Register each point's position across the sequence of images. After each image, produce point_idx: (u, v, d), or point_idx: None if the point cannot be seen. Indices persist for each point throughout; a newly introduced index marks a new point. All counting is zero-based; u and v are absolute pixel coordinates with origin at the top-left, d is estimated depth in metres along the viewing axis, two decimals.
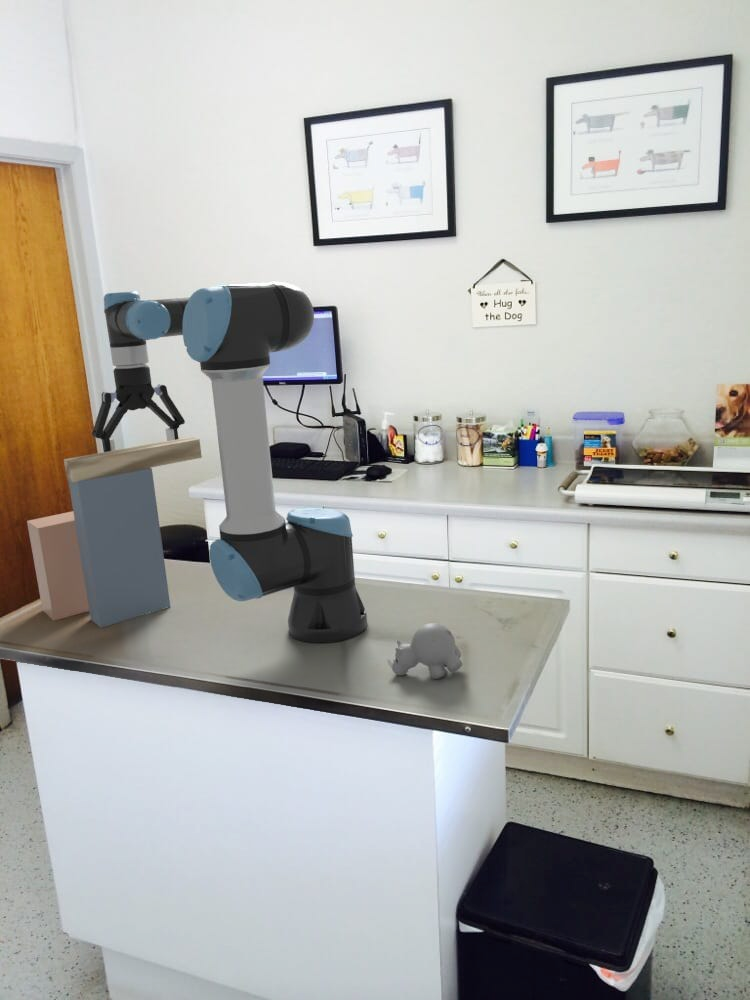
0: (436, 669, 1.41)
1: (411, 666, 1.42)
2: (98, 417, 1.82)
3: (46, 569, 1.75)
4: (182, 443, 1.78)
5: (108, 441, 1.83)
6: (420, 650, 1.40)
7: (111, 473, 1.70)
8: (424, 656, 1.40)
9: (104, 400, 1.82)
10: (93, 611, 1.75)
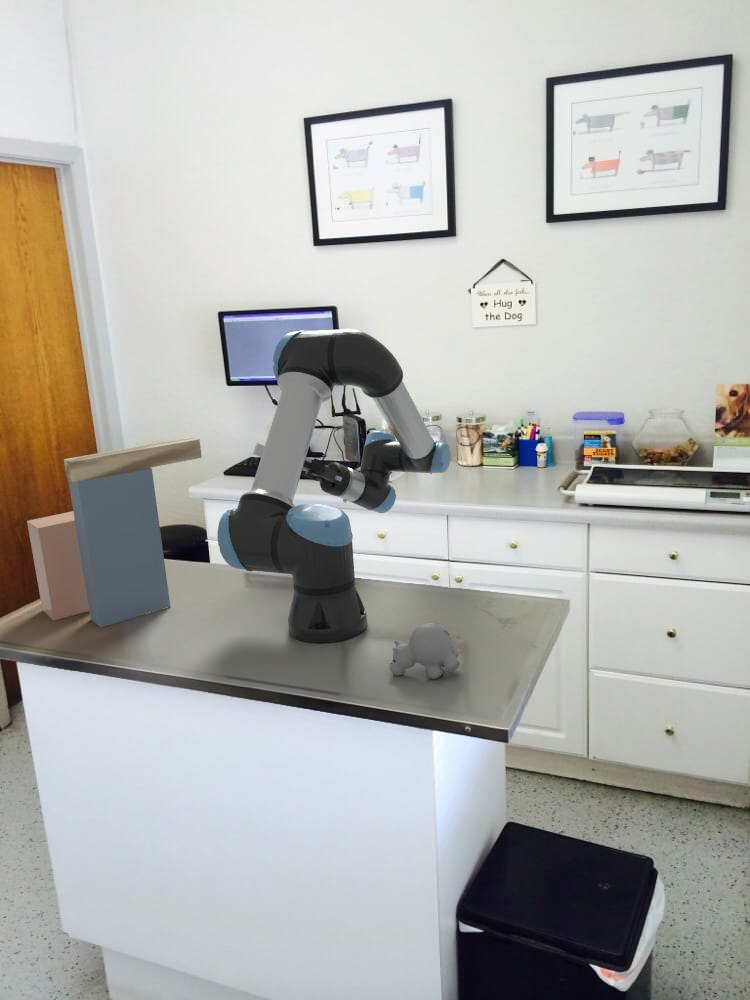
0: (434, 669, 1.41)
1: (408, 666, 1.42)
2: None
3: (46, 569, 1.75)
4: (182, 443, 1.78)
5: None
6: (418, 650, 1.40)
7: (111, 473, 1.70)
8: (422, 656, 1.40)
9: None
10: (93, 611, 1.75)
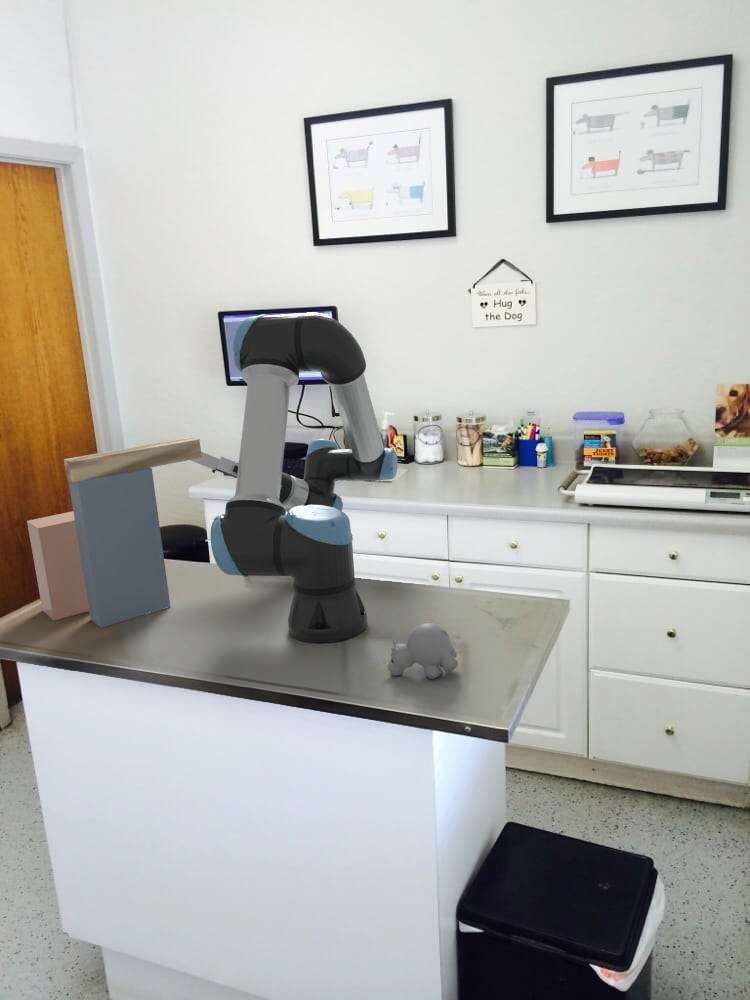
0: (432, 669, 1.41)
1: (407, 666, 1.42)
2: None
3: (46, 569, 1.75)
4: (182, 443, 1.78)
5: None
6: (416, 650, 1.40)
7: (111, 473, 1.70)
8: (420, 656, 1.40)
9: None
10: (93, 611, 1.75)
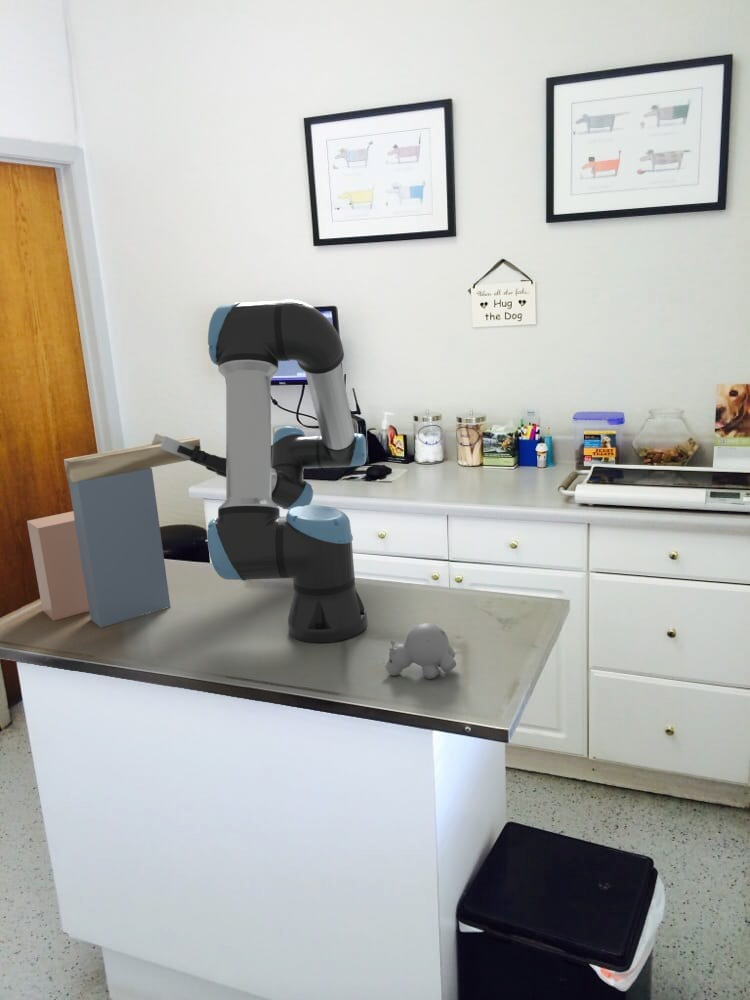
0: (430, 669, 1.41)
1: (405, 666, 1.42)
2: None
3: (46, 569, 1.75)
4: None
5: None
6: (414, 650, 1.40)
7: (111, 473, 1.70)
8: (418, 656, 1.40)
9: None
10: (93, 611, 1.75)
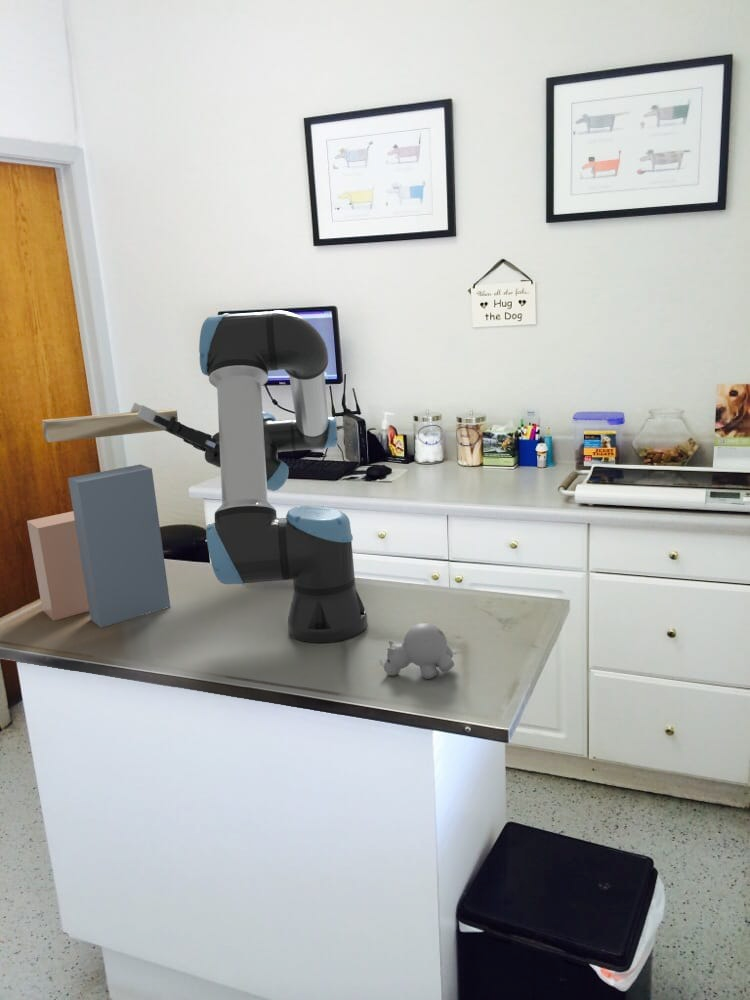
0: (428, 669, 1.41)
1: (403, 666, 1.42)
2: None
3: (46, 569, 1.75)
4: None
5: None
6: (412, 650, 1.40)
7: (87, 436, 1.76)
8: (416, 656, 1.40)
9: None
10: (93, 611, 1.75)
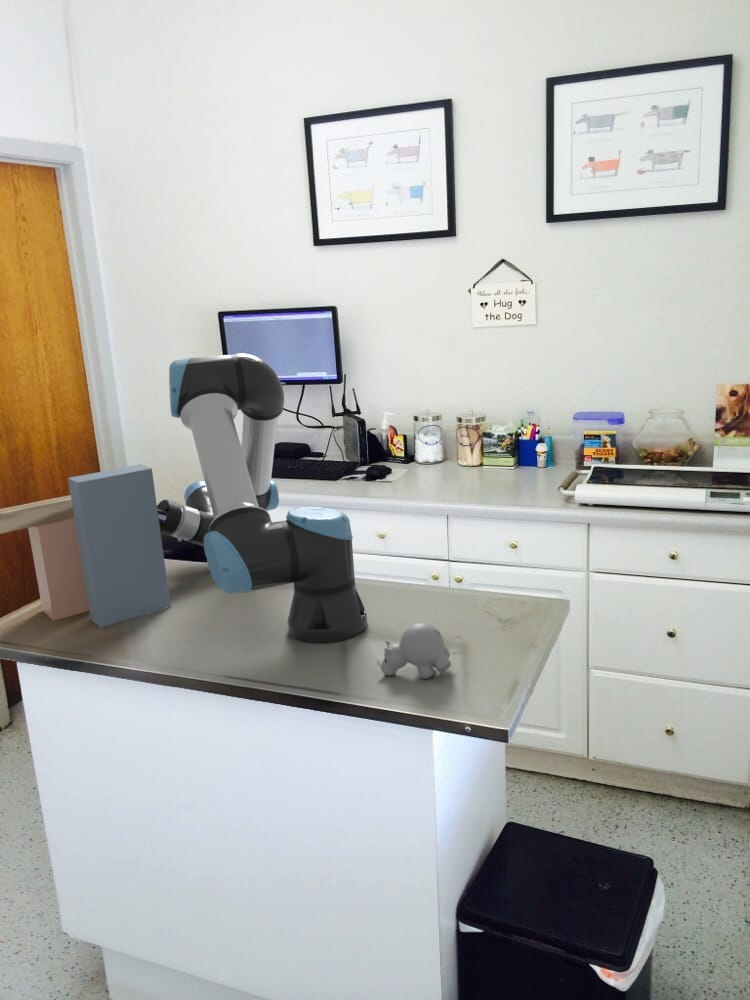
0: (425, 669, 1.41)
1: (400, 666, 1.42)
2: None
3: (46, 569, 1.75)
4: None
5: None
6: (409, 650, 1.40)
7: (30, 525, 1.74)
8: (413, 656, 1.40)
9: None
10: (93, 611, 1.75)
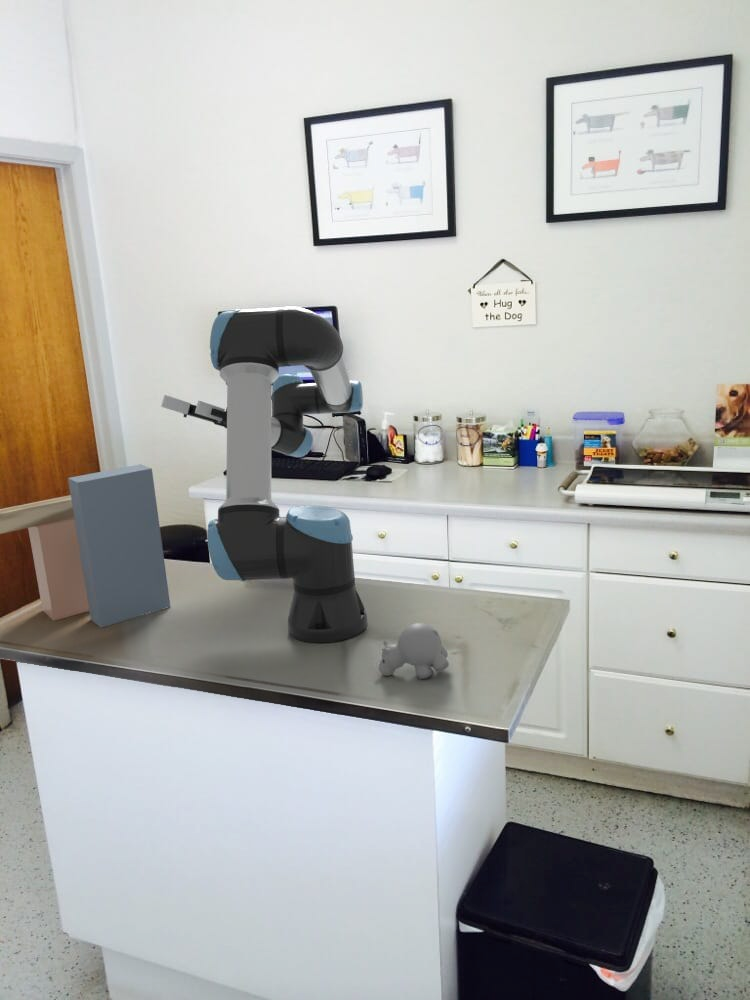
0: (423, 669, 1.41)
1: (398, 666, 1.42)
2: None
3: (46, 569, 1.75)
4: None
5: None
6: (407, 650, 1.40)
7: (30, 525, 1.74)
8: (411, 656, 1.40)
9: None
10: (93, 611, 1.75)
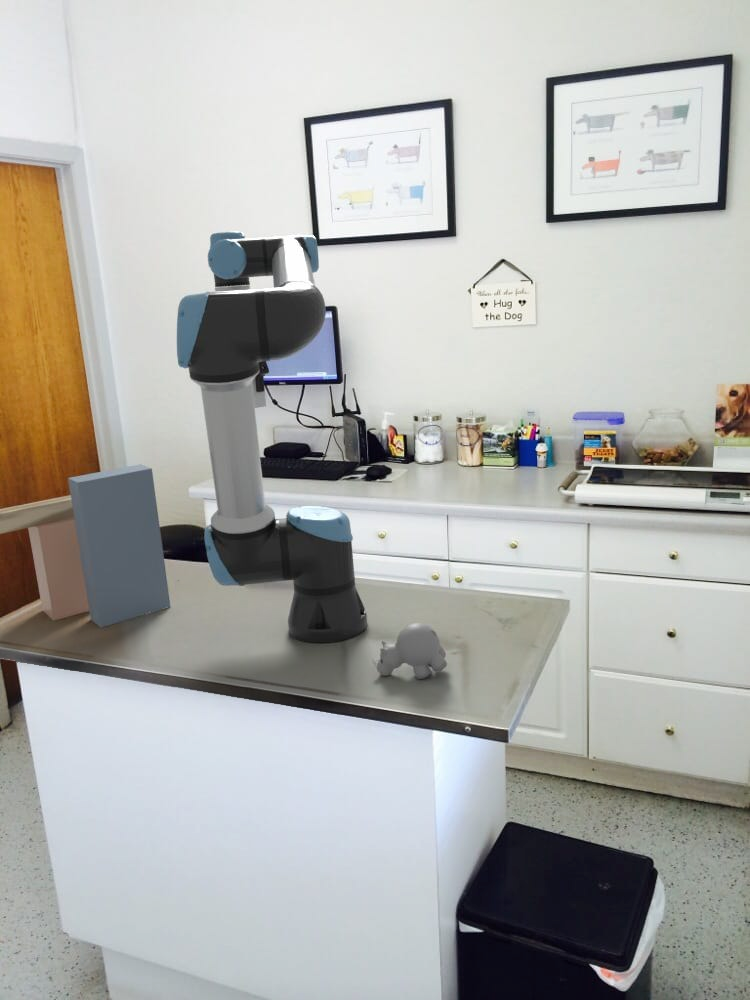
0: (421, 669, 1.41)
1: (396, 666, 1.42)
2: None
3: (46, 569, 1.75)
4: None
5: None
6: (405, 650, 1.40)
7: (30, 525, 1.74)
8: (409, 656, 1.40)
9: None
10: (93, 611, 1.75)
